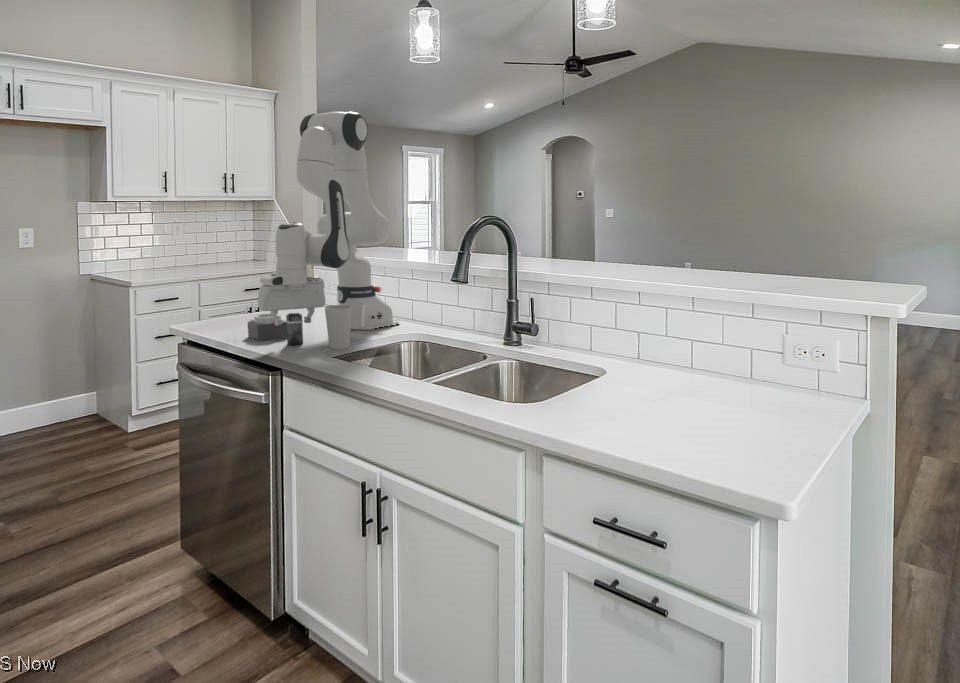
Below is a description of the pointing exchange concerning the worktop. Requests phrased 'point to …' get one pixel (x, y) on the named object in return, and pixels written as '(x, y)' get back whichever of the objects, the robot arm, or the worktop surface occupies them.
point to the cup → (338, 325)
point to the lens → (294, 329)
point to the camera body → (266, 328)
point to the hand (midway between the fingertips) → (293, 324)
